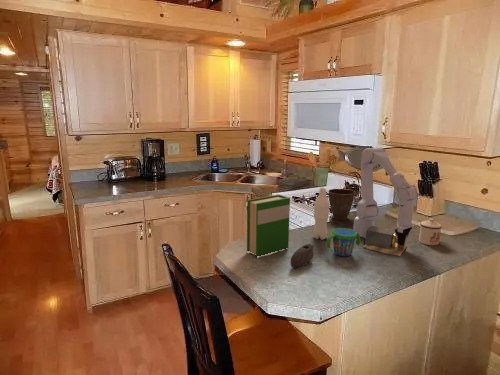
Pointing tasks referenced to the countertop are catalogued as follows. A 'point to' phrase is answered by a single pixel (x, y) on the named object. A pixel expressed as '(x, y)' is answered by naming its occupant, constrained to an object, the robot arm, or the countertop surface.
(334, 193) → the plant pot
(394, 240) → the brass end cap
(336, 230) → the snack cup
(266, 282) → the countertop surface
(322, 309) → the countertop surface
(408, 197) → the robot arm
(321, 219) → the water bottle
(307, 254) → the perforated stone tool
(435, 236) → the teacup with lid
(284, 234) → the hardback book
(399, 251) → the mounting board
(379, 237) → the gunmetal housing
